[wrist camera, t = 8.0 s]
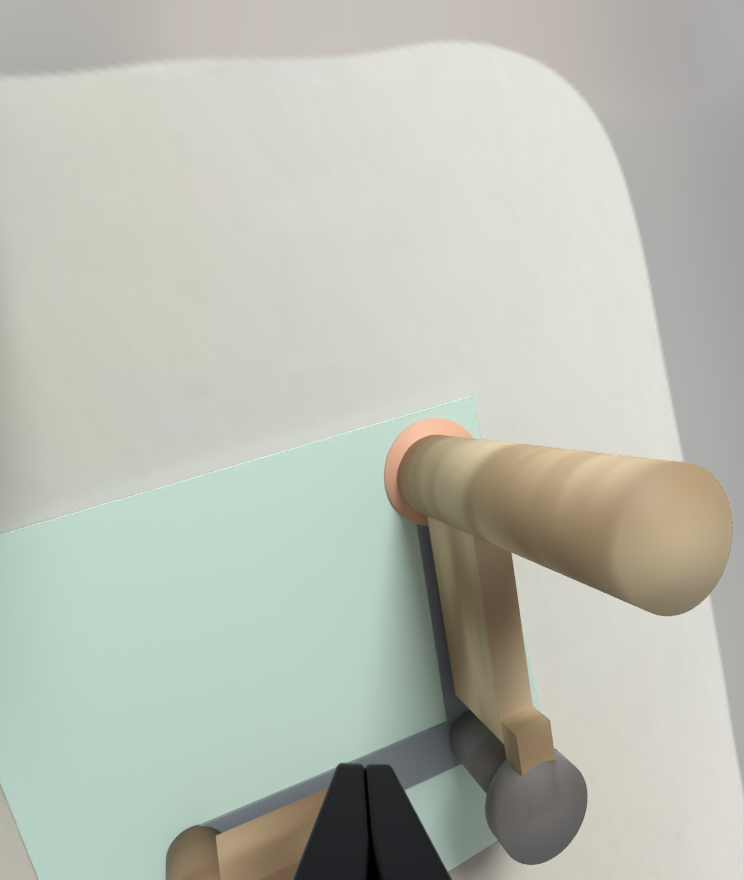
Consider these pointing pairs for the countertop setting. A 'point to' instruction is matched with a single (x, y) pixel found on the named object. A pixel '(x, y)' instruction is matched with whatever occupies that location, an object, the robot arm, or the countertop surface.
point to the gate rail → (567, 552)
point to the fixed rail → (302, 822)
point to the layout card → (230, 655)
